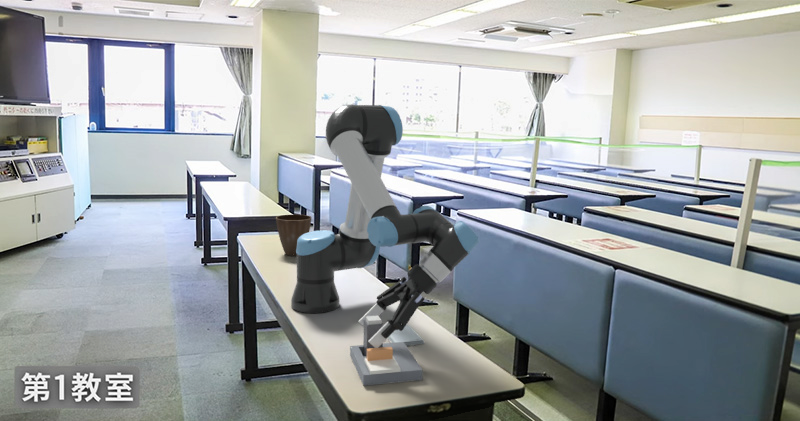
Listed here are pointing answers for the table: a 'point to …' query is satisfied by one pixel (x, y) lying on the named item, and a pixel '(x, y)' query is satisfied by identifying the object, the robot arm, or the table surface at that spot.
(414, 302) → the robot arm
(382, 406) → the table surface
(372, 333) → the grey block
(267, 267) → the table surface
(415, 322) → the table surface
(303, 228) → the plant pot
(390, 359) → the shutter
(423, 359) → the table surface
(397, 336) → the hard drive
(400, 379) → the socket plate
